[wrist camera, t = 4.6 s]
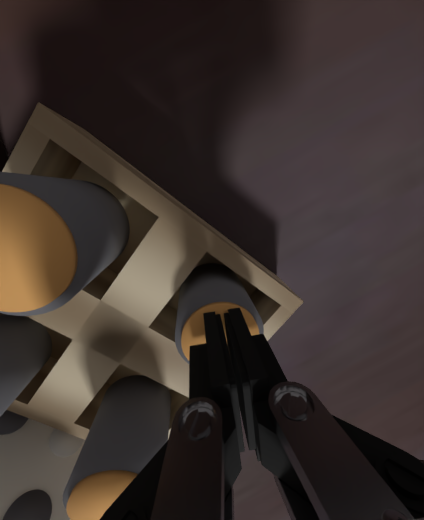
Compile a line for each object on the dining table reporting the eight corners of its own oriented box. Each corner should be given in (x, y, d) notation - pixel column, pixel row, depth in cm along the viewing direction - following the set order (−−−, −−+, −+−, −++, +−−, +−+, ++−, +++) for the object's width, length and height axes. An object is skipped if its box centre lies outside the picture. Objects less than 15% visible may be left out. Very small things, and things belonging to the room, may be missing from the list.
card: (107, 422, 19) (37, 617, 10) (-3, 376, 16) (-214, 577, 8) (112, 416, 18) (45, 609, 10) (1, 368, 16) (-208, 565, 8)
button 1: (147, 434, 15) (128, 546, 10) (90, 410, 14) (40, 522, 9) (184, 393, 14) (181, 493, 10) (126, 364, 13) (91, 460, 9)
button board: (160, 410, 19) (152, 466, 15) (-28, 323, 15) (-101, 368, 11) (276, 275, 16) (303, 301, 12) (85, 129, 12) (38, 102, 9)
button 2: (216, 330, 16) (227, 390, 11) (166, 299, 15) (155, 351, 10) (254, 286, 15) (284, 329, 10) (205, 250, 14) (212, 280, 9)
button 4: (101, 282, 12) (40, 344, 7) (21, 235, 11) (-116, 269, 6) (146, 217, 11) (112, 237, 6) (64, 159, 10) (-52, 129, 5)
